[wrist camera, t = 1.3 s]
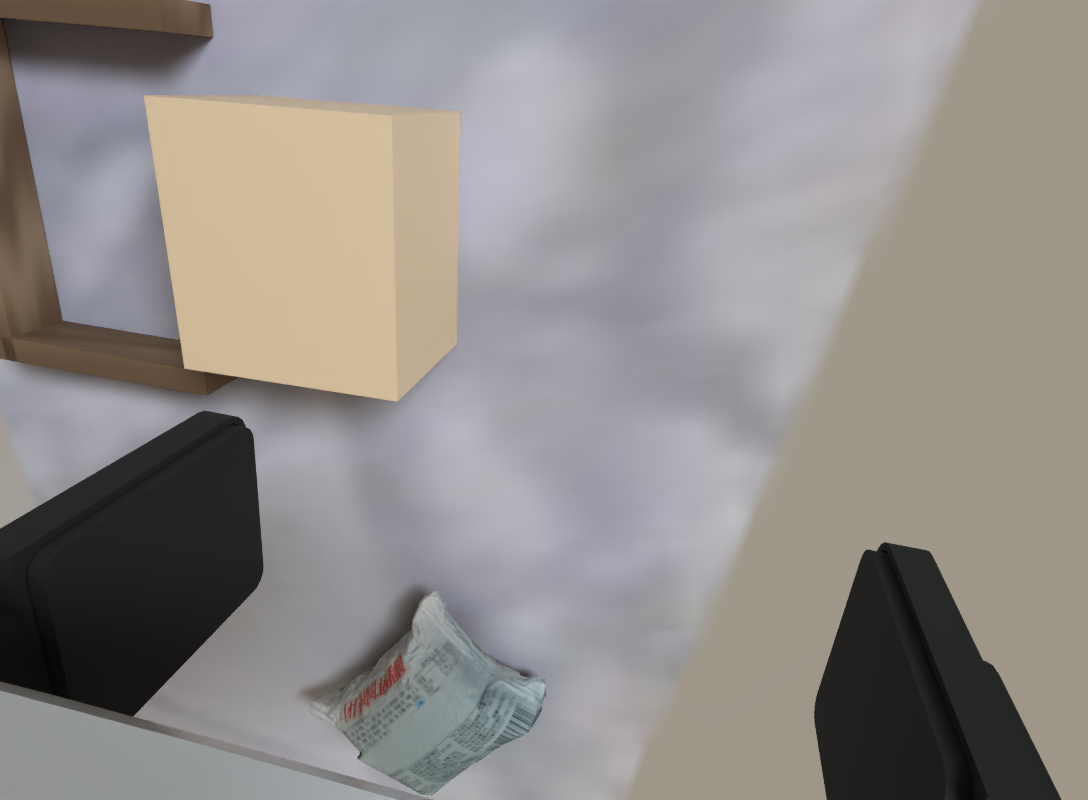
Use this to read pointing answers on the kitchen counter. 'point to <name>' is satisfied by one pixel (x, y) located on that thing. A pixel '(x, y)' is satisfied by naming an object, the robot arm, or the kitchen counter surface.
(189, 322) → the carton
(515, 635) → the kitchen counter surface
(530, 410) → the kitchen counter surface
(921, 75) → the kitchen counter surface
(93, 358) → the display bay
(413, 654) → the packaged food
